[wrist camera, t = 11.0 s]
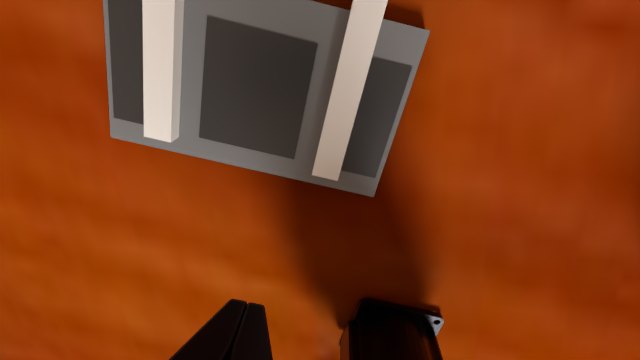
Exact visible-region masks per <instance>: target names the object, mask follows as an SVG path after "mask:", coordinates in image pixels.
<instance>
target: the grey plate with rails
mask: <svg viewBox="0 0 640 360" xmlns="http://www.w3.org/2000/svg"><path fill="white" fill-rule="evenodd" d="M387 2H388V0H353V1H352V5H351V9H350V10H347V9H343V8H339V7H335V6H331V5H327V4H323V3H319V2H315V1H311V0H103V11H104V28H105V46H106V63H107V80H108V98H109V115H110V133H111V137H112V138H116V139H120V140H125V141H129V142H133V143H138V144H142V145H147V146H151V147H155V148H160V149H164V150H169V151H173V152H177V153H182V154H186V155H190V156H195V157H199V158H204V159H208V160H212V161H217V162H221V163H225V164H230V165H234V166H239V167H243V168H247V169H252V170H256V171H260V172H265V173H269V174H274V175H278V176H282V177H287V178H291V179H295V180H300V181H304V182H309V183H313V184H317V185H322V186H326V187H331V188H335V189H339V190H344V191H348V192H352V193H357V194H361V195H366V196H370V197H374V195H375V192H376V189H377V186H378V183H379V180H380V177H381V174H382V171H383V168H384V165H385V162H386V159H387V156H388V153H389V151H390V148H391V145H392V142H393V139H394V136H395V133H396V130H397V127H398V124H399V121H400V118H401V115H402V112H403V109H404V107H405V104H406V101H407V98H408V95H409V92H410V89H411V86H412V83H413V80H414V77H415V74H416V71H417V68H418V65H419V63H420V60H421V57H422V54H423V51H424V48H425V45H426V42H427V39H428V36H429V33H430V31H429V30H425V29H421V28H417V27H414V26H410V25H406V24H402V23H398V22H394V21H390V20H386V19H383V16H384V13H385V9H386V6H387Z"/></svg>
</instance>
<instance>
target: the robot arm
mask: <svg viewBox="0 0 640 360" xmlns="http://www.w3.org/2000/svg"><path fill="white" fill-rule="evenodd" d="M365 305H367V306H365ZM443 322H444V321H443V318H442V315H440V314H438V313H434V312H429V311H425V310H420V309H415V308H411V307H406V306H401V305H397V304H392V303H387V302H383V301H378V300H373V299H369V298H364V299H361V300H360V302H359V304H358V307H357V309H356V312H355V315H354V317H353V320H350V321H348V323H347V326H346V328H345V331H344V334H343V336H342V339H341V342H340V360H443V358H442V355H441V351H440V348H439V345H438V342H437V338H436V336H437V334H438V332H439V330H440V328H441V327H442V325H443ZM169 360H273V358H272V352H271V345H270V339H269V332H268V326H267V319H266V313H265V307H264V306H263V305H261V304H256V303H248V304H247V302H245V301H242V300H237V299H231V300H229V301H228V302H227V303H226V304H225V305H224V306H223V307H222V308H221V309H220V310H219V311H218V312H217V313H216V314H215V315H214V316H213V317H212V318H211V319H210V320H209V321H208V322H207V323H206V324H205V325H204V326H203V327H202V328H201V329H200V330H199V331H198V332H196V333H195V334H194V335H193V336H192V337H191V338H190V339H189V340H188V341H187V342H186V343H185V344H184V345H183V346H182V347H181V348H180V349H179V350H178V351H177V352H176V353H175V354H174V355H173V356H172V357H171V358H170V359H169Z"/></svg>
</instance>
